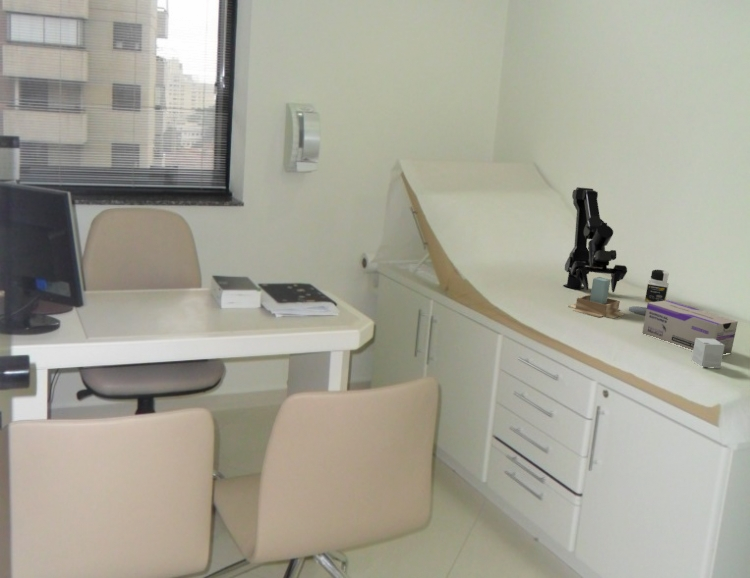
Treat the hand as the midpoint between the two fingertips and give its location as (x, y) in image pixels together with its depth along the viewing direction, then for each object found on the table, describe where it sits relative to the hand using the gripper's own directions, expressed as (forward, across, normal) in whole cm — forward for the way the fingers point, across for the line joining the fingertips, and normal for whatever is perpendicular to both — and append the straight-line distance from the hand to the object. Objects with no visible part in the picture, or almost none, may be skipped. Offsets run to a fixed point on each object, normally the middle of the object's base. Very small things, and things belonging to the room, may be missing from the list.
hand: (600, 290), depth 290 cm
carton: (+5, 0, +6) cm, 7 cm away
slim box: (+5, 0, +6) cm, 7 cm away
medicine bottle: (-12, +28, +22) cm, 38 cm away
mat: (+2, +18, +9) cm, 20 cm away
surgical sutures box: (+28, +20, -17) cm, 38 cm away
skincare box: (+43, +18, -31) cm, 56 cm away
